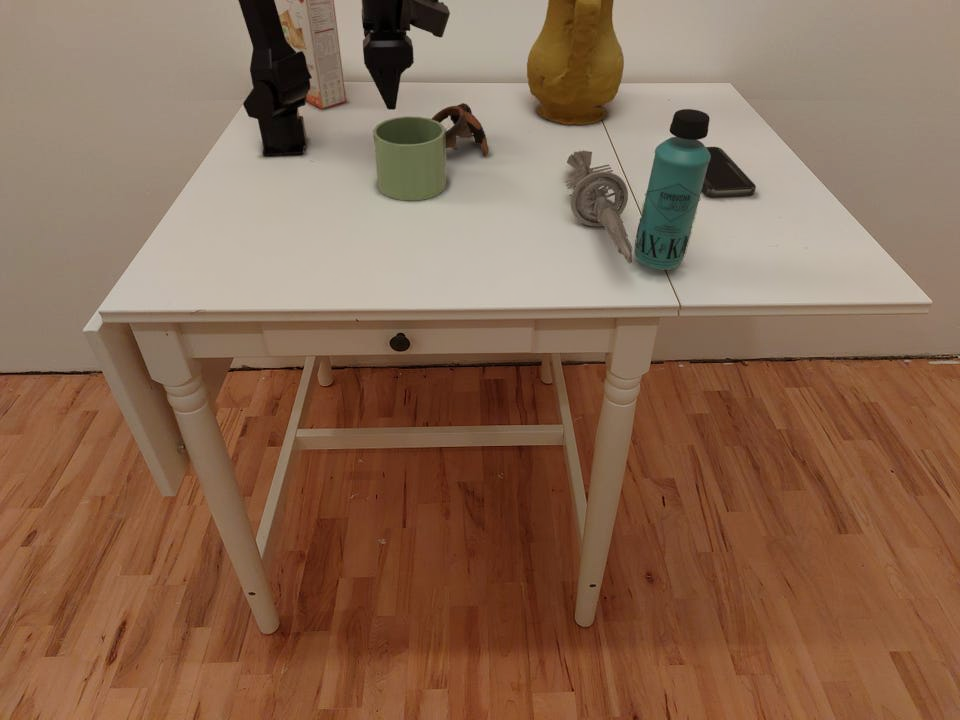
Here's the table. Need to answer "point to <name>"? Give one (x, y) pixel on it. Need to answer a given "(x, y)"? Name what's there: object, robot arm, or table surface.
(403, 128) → the green round container
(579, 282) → the table surface
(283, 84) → the robot arm
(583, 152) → the spaceship
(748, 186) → the phone
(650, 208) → the beverage bottle
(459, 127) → the gnarled wooden root
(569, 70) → the pitcher
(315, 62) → the cracker box
